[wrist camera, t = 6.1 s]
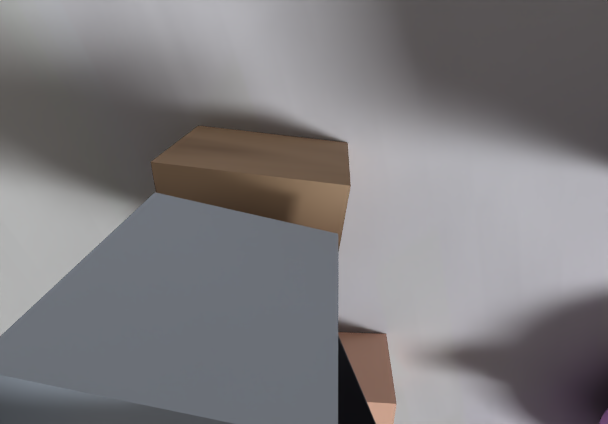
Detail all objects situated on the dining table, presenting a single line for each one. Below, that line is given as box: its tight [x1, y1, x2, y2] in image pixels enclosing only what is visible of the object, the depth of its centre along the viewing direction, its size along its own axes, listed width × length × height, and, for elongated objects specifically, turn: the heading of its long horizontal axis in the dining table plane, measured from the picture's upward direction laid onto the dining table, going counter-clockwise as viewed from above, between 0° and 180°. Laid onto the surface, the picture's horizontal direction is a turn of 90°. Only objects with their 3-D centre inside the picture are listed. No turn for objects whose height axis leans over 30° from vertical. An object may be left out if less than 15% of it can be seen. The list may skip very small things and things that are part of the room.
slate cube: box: [0, 192, 338, 424], centre depth 8 cm, size 5×5×5 cm
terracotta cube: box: [338, 332, 396, 424], centre depth 18 cm, size 5×5×4 cm
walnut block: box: [151, 126, 351, 252], centre depth 13 cm, size 6×6×4 cm
